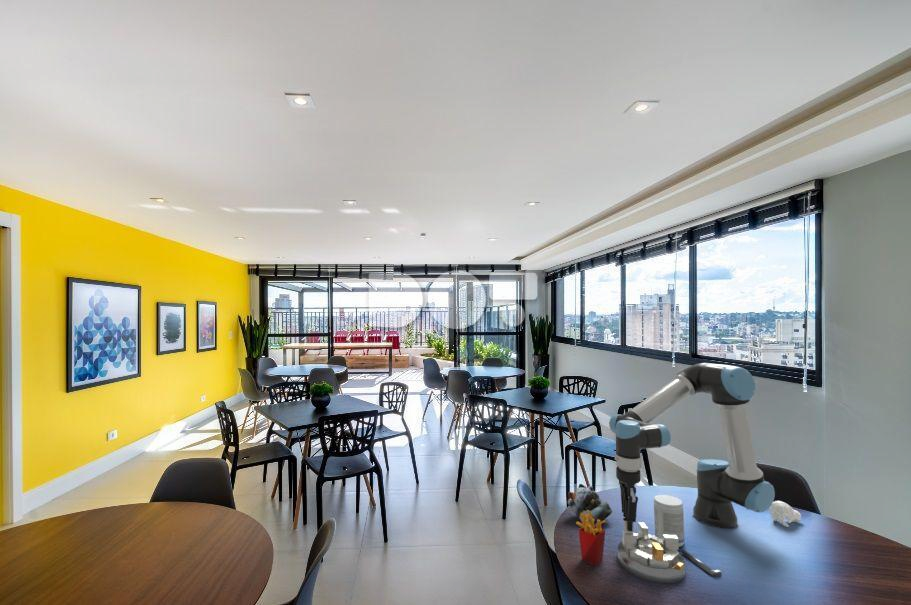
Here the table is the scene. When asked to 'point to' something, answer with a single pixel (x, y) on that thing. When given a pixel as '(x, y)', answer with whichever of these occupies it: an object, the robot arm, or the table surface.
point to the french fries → (591, 539)
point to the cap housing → (646, 571)
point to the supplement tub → (669, 517)
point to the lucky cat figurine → (588, 504)
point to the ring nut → (657, 559)
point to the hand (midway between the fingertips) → (628, 538)
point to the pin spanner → (701, 564)
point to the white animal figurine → (783, 513)
